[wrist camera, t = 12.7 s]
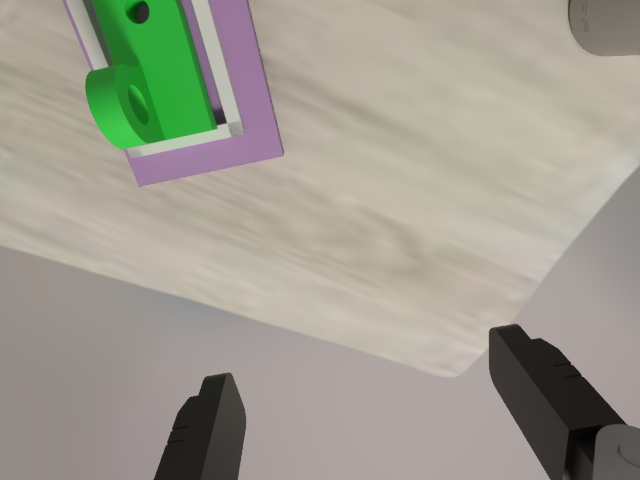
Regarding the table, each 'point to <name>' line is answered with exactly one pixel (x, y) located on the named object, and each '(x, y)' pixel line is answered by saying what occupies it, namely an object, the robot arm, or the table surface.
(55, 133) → the table surface
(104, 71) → the mechanical part
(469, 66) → the table surface
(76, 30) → the door panel
